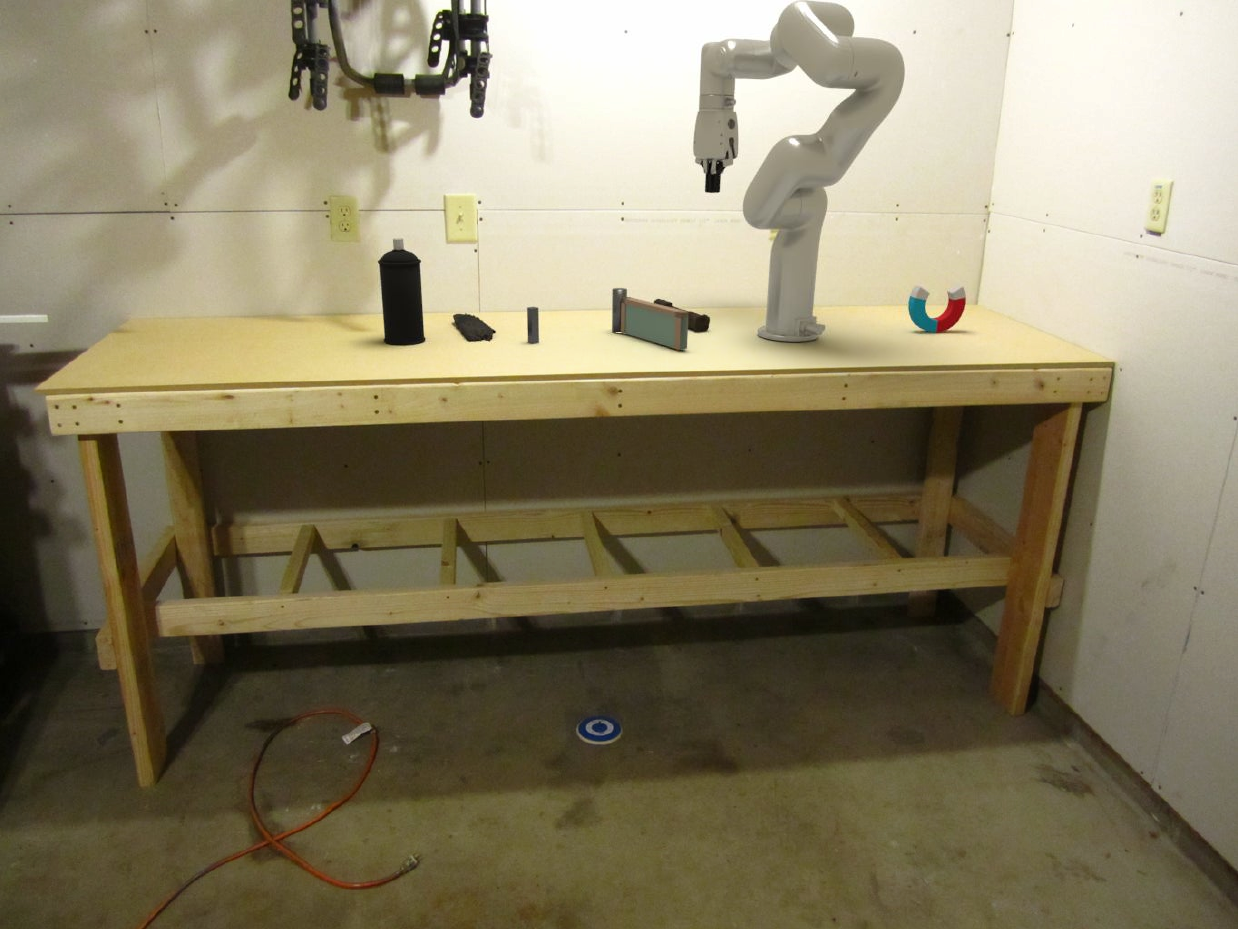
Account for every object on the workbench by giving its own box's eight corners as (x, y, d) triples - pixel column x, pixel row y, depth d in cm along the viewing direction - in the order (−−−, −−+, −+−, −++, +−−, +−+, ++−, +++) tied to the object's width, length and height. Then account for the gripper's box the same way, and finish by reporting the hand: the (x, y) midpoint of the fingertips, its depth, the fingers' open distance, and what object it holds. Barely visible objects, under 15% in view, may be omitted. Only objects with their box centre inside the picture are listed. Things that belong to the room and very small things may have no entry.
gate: (628, 331, 197) (629, 296, 195) (687, 348, 183) (688, 311, 180) (620, 332, 196) (621, 297, 194) (679, 349, 182) (680, 313, 179)
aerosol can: (434, 341, 188) (428, 239, 181) (399, 347, 182) (392, 242, 175) (409, 334, 193) (403, 235, 186) (375, 340, 188) (367, 238, 181)
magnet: (909, 333, 201) (915, 286, 197) (904, 330, 203) (910, 284, 200) (961, 332, 202) (968, 286, 199) (955, 330, 205) (962, 284, 201)
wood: (504, 342, 190) (504, 327, 189) (468, 344, 187) (467, 329, 186) (483, 321, 209) (483, 307, 208) (450, 322, 207) (449, 308, 206)
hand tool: (710, 332, 200) (711, 310, 199) (695, 334, 199) (696, 312, 197) (663, 316, 216) (663, 296, 214) (648, 318, 214) (648, 297, 212)
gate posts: (629, 332, 198) (629, 289, 195) (534, 344, 186) (533, 299, 183) (621, 329, 200) (621, 287, 197) (527, 341, 188) (526, 296, 185)
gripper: (753, 104, 201) (748, 194, 207) (704, 104, 211) (700, 189, 218) (729, 104, 196) (724, 195, 202) (680, 104, 207) (677, 190, 213)
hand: (712, 192), depth 210 cm, fingers closed
